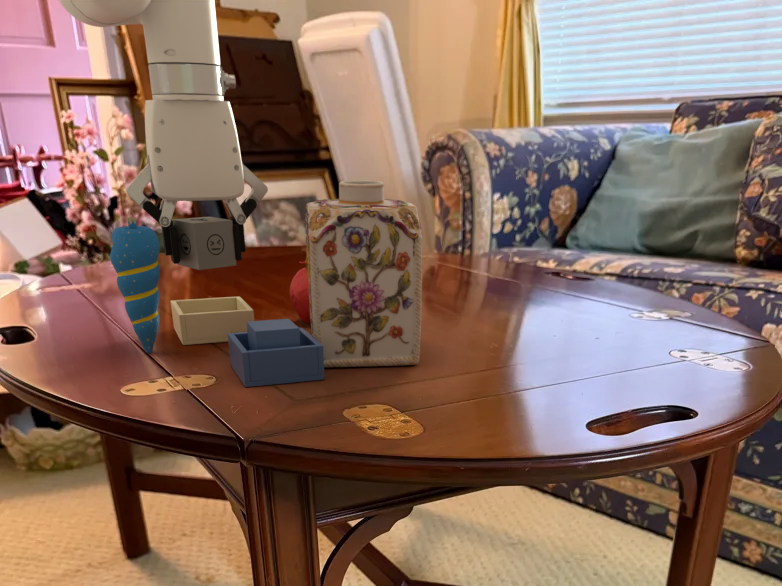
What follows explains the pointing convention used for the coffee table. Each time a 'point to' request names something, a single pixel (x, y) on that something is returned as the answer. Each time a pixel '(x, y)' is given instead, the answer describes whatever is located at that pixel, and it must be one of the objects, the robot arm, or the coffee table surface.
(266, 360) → the blue bin
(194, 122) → the robot arm
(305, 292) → the pomegranate
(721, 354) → the coffee table surface
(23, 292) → the coffee table surface
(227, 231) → the dice cube
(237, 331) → the cream bin
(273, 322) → the blue block
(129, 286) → the ornament
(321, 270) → the decorative jar
